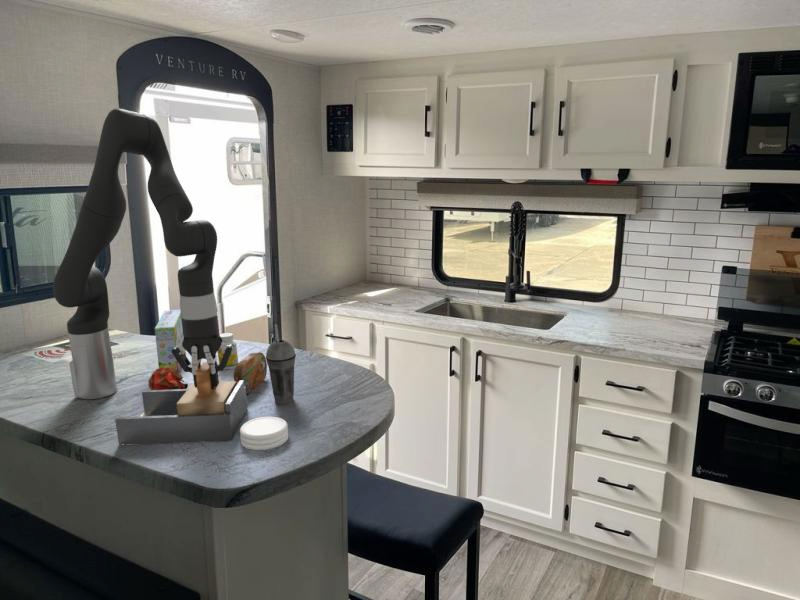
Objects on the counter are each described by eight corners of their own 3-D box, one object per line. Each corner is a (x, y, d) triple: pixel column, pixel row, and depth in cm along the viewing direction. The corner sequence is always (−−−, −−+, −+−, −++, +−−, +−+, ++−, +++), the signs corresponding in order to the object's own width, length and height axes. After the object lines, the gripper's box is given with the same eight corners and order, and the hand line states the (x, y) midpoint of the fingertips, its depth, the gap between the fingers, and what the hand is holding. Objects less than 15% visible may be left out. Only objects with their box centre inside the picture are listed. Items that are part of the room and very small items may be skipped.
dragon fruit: (162, 395, 162) (180, 414, 154) (133, 385, 156) (151, 405, 148) (179, 367, 163) (198, 385, 155) (152, 356, 157) (170, 374, 149)
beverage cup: (304, 396, 155) (298, 319, 150) (290, 408, 148) (284, 328, 143) (278, 393, 157) (272, 318, 152) (263, 404, 150) (256, 326, 146)
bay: (118, 445, 131) (113, 410, 129) (146, 414, 147) (142, 382, 145) (232, 440, 132) (228, 406, 130) (247, 410, 147) (244, 378, 145)
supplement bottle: (239, 367, 177) (236, 335, 175) (220, 371, 175) (217, 338, 172) (236, 362, 182) (233, 331, 179) (218, 365, 180) (214, 333, 177)
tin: (244, 398, 154) (241, 367, 152) (233, 398, 155) (230, 366, 153) (268, 377, 169) (266, 348, 167) (258, 376, 169) (255, 347, 167)
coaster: (236, 452, 127) (235, 437, 126) (245, 431, 137) (244, 416, 136) (285, 450, 127) (284, 434, 127) (291, 429, 137) (290, 414, 136)
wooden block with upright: (180, 433, 133) (173, 377, 130) (196, 410, 145) (190, 358, 142) (226, 431, 133) (220, 375, 130) (238, 409, 145) (233, 356, 142)
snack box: (180, 379, 169) (174, 326, 166) (159, 381, 168) (152, 328, 165) (187, 355, 189) (182, 308, 186) (168, 357, 188) (162, 309, 185)
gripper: (160, 319, 129) (170, 396, 133) (227, 317, 130) (234, 393, 134) (172, 310, 137) (181, 383, 141) (235, 308, 137) (242, 381, 141)
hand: (207, 388), depth 137 cm, fingers closed on wooden block with upright, 2 cm apart
